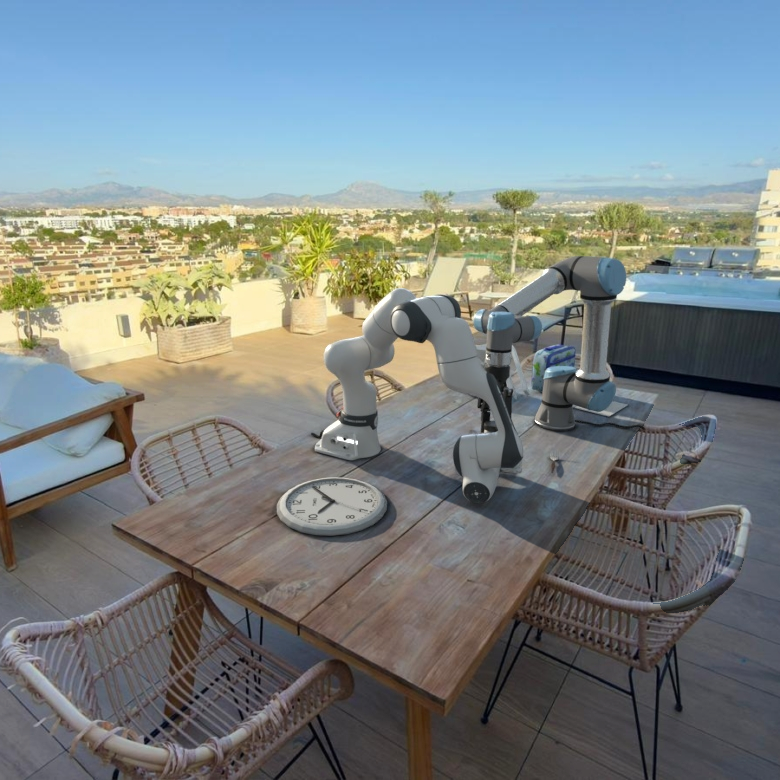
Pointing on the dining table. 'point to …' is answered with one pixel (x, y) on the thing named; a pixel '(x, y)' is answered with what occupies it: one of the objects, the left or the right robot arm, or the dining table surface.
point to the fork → (554, 460)
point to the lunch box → (550, 362)
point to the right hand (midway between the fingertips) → (491, 435)
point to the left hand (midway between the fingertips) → (490, 450)
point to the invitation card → (607, 409)
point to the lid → (490, 426)
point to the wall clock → (331, 506)
